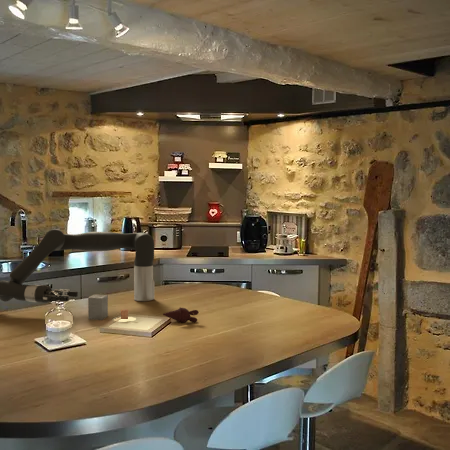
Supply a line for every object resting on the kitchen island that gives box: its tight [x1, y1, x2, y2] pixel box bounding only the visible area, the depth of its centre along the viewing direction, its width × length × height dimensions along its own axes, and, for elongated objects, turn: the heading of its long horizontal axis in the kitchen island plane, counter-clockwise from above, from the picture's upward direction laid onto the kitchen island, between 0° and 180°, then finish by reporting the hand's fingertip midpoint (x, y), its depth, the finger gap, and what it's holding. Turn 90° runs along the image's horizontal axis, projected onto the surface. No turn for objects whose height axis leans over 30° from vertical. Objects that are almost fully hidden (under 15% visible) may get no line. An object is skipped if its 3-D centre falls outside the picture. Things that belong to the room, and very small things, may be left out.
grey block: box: [87, 293, 109, 321], centre depth 223 cm, size 6×6×10 cm
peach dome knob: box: [120, 308, 129, 319], centre depth 222 cm, size 3×3×4 cm
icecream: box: [162, 306, 200, 323], centre depth 220 cm, size 7×7×15 cm
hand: (72, 296), depth 224 cm, fingers open, 8 cm apart
